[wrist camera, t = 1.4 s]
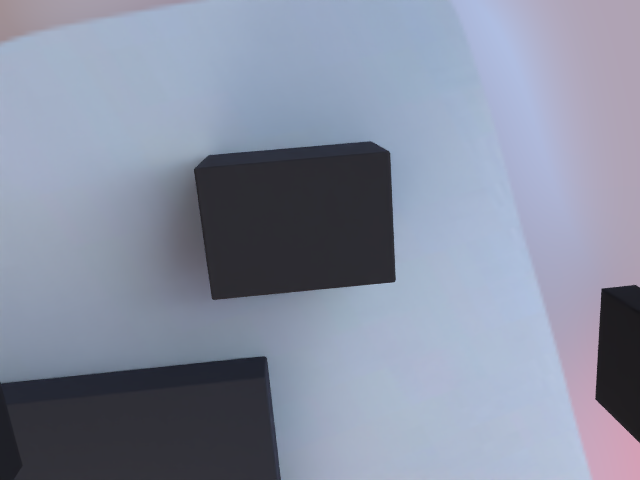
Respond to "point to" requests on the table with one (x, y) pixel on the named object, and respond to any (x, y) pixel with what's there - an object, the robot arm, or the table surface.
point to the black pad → (297, 219)
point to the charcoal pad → (148, 424)
